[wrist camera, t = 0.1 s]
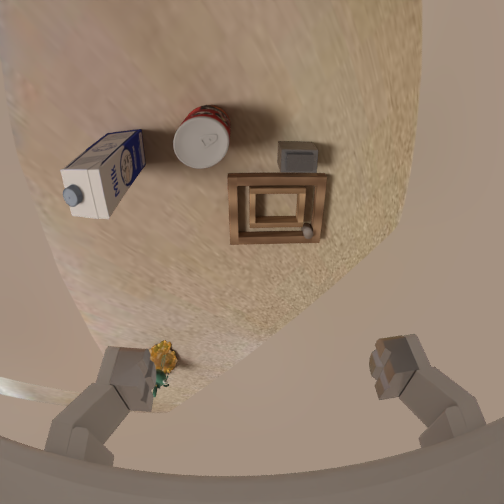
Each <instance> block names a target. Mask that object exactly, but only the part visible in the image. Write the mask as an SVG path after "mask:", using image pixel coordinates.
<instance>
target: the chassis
mask: <svg viewBox="0 0 504 504" xmlns="http://www.w3.org/2000/svg"><path fill="white" fill-rule="evenodd" d="M326 184H327V176H326V175H325V173H231V174H228V201H229V225H230V245H239V244H282V243H319V241H320V234H321V226H322V218H323V210H324V201H325V193H326ZM305 185H315V191H314V201H313V211H312V221H311V226H310V224H308V223H304V224H303V220H304V208H305V197H306V187H305ZM237 186H249V222H250V228H273V227H302V231H264V232H238V199H237ZM255 194H298V195H297V209H296V216H262V217H255Z"/></svg>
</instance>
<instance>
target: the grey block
mask: <svg viewBox="0 0 504 504" xmlns="http://www.w3.org/2000/svg"><path fill="white" fill-rule="evenodd" d="M317 160H318V149H317V148H316V147H315V145H314V144H313V143H312V142H301V141H278V159H277V163H278V166H279V169H280V172H298V173H316V172H317Z"/></svg>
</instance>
